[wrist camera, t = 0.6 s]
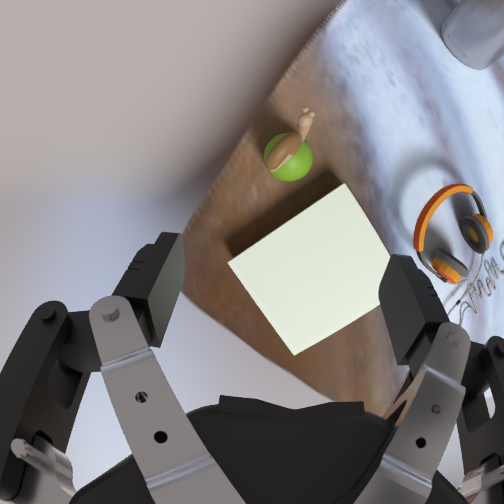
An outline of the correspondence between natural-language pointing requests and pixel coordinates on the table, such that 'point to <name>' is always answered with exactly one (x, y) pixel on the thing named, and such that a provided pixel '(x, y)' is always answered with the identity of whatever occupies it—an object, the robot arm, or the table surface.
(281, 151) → the snail figurine
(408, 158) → the table surface
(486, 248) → the headphones
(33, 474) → the robot arm
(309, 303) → the sage board
